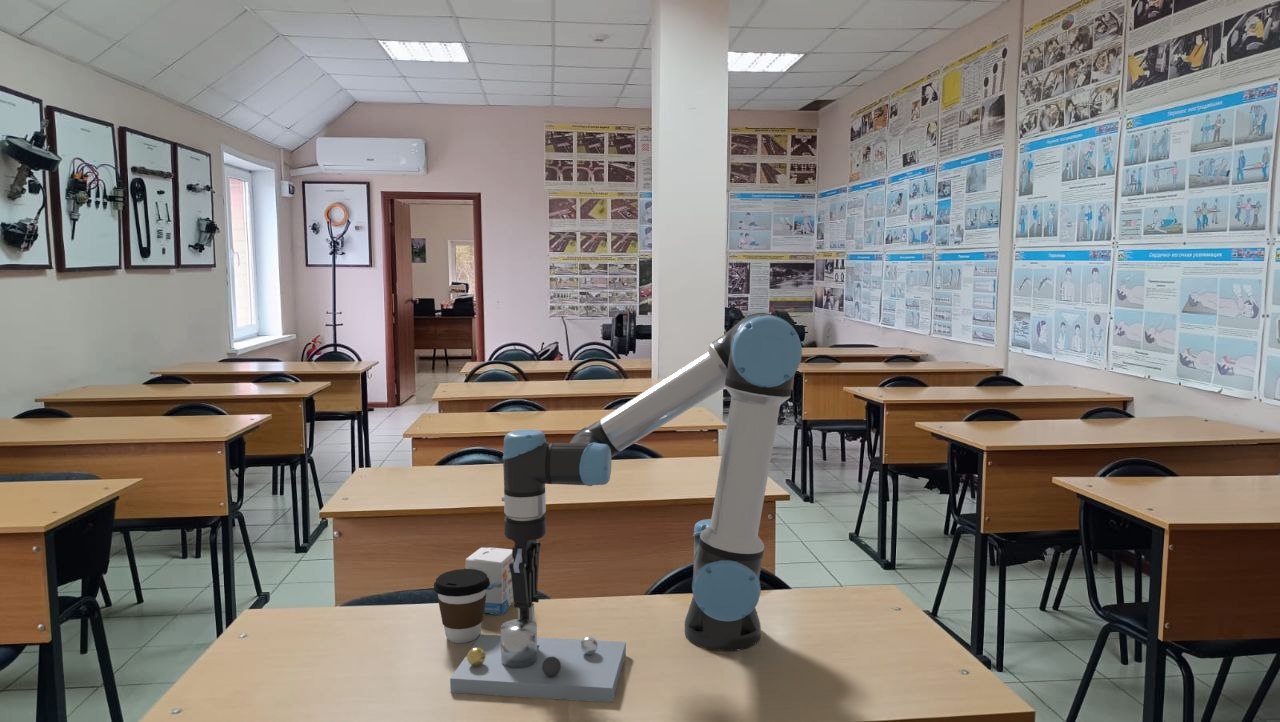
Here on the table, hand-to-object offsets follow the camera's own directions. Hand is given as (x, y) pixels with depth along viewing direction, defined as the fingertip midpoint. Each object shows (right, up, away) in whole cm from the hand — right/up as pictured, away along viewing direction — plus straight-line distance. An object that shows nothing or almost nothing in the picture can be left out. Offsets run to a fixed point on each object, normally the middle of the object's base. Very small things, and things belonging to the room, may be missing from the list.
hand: (526, 638), depth 146 cm
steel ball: (+12, 0, -3) cm, 12 cm away
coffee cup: (-14, -3, +10) cm, 17 cm away
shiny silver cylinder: (0, -2, -5) cm, 6 cm away
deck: (+4, -4, -5) cm, 7 cm away
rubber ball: (+6, -1, -11) cm, 12 cm away
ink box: (-11, -2, +25) cm, 27 cm away
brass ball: (-8, -1, -7) cm, 11 cm away
